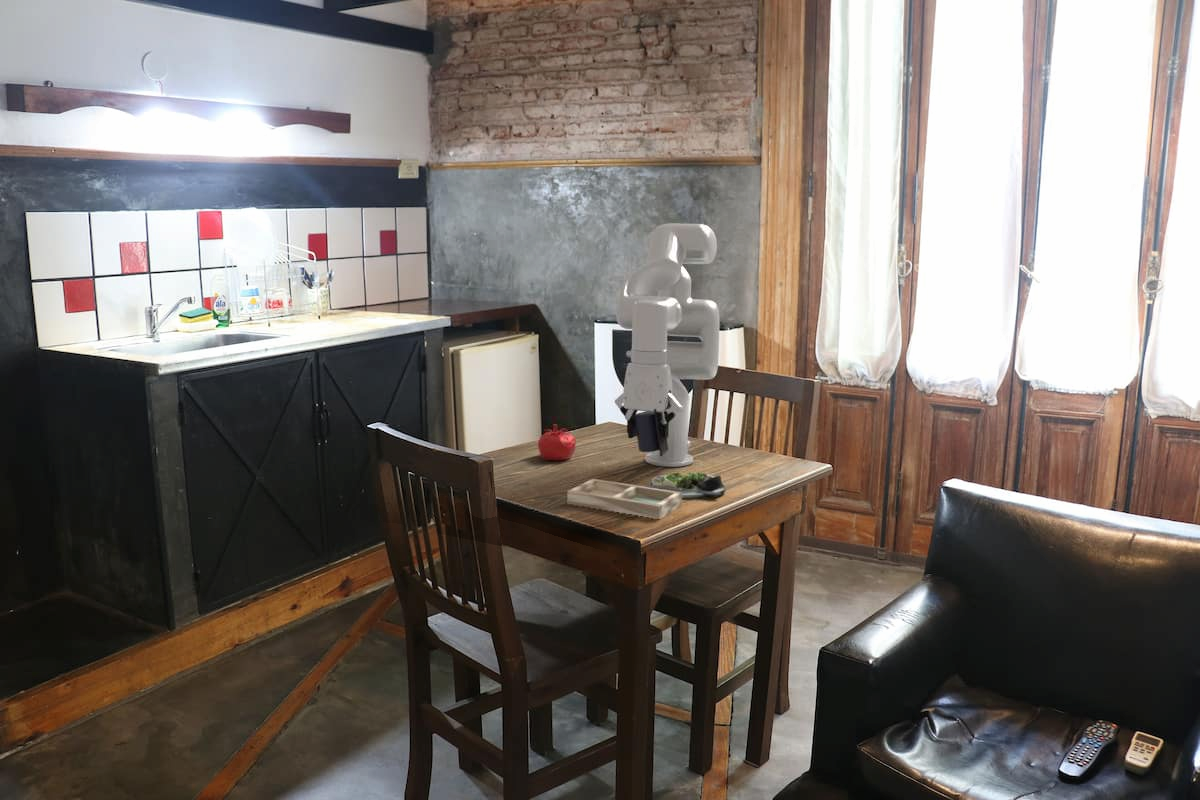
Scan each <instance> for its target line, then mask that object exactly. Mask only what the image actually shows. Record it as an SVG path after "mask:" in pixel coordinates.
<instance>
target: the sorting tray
mask: <svg viewBox="0 0 1200 800" xmlns="http://www.w3.org/2000/svg"><path fill="white" fill-rule="evenodd" d="M566 493H567V494H566V495H567V496H566V497H567V500H566V501H567V502H566V504H567V505H570V504H573V505H572V506H576V505H579V506H578V507H582V506H585V507H584V508H587V507H590V509H593V508H595V509H594V510H599V509H602V510H601V511H605V510H608V511H607V512H611V511H614V512H613V513H616V512H619V513H618V514H622V513H626V514H625V515H628V514H633V515H632V516H634V515H638V516H637V517H640V516H644V517H643V518H646V517H649V518H648V519H651V518H653V520H657V519H660V520H661V519H663V518H664V517H666V516H668V515H669V514H670V512H671V513H672V512H674V511H675V510H676V508H677V509H678V508H680V507H681V506H683V505H682V503H683V502H682V501H683V498H682V492H675V491H669V490H662V489H656V488H650V487H643V485H642V486H641V485H637V484H636V485H635V484H630V483H624V482H623V483H622V482H618V481H617V482H616V481H611V480H604V479H598V478H591V479H589V480H587V481H585V482H583V483H581V484H579V485H577V486H575V487H573V488H571V489H569V490H567V492H566ZM679 506H680V507H679ZM667 514H668V515H667Z"/></svg>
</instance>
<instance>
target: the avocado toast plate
mask: <svg viewBox="0 0 1200 800" xmlns="http://www.w3.org/2000/svg"><path fill="white" fill-rule="evenodd" d="M651 482H652V483H645V484H643V485H642V486H643V487H650V488H656V489H662V490H669V491H675V492H682V499H711V497H713V498H717V496H718V497H720V495H721V496H723V495H724V493H725V492H726V491H727V490H726V489H727V488H726V486H725V485H724V484H723V482H722V477H721V475H717V476H714V475H712V474H711V475H710V474H707V473H705V472H704V473H703V472H696V471H695V472H694V471H693V472H692V473H691V472H687V473H685V474H682V473H679V472H677V473H676V472H670V473H668V474H661V475H657V476H655V477H653V478H652V479H651ZM722 494H723V495H722Z"/></svg>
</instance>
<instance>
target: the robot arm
mask: <svg viewBox="0 0 1200 800" xmlns="http://www.w3.org/2000/svg"><path fill="white" fill-rule="evenodd" d="M717 243H718V242H717V237H716V234H715V232H714V231H713V230H712V228H711V227H709V226H708V225H706V224H702V223H676V222H675V223H672V222H670V223H663V224H660V225H657V227H656V228H654V230H653V231H650V233H648V235H647V238H646V249H647V256H646V262H645V264H644V265H642V266H640V267H638V269H636V270H635V271H633V272H632V273H631V274H630V275H628V276H627V277H626V278H625V279H624V280H623V283H622V285H621V287H620V290H619V294H618V299H617V303H616V308H615V309H616V310H615V317H616V318H615V319H616V322H617V324H618V325H619V326H620V327H621V328H623V329H625V330H631V349H630V350H627V351H626V352H625V353H626V357H627V358H630V361H631V362H628V363H627V366H626V371H625V377H624V382H623V383H624V384H623V392H622V393H621V395H619V396H617V398H615V400H614V404H615V405H616V406H617V408H618V409H619V410H620V413H621V414H622V415H623V416H624V418H625V420H626V432H627V438H628V439H632V438H635V437H637V432H636V425H635V417H634V415H635V414H638V412H640V411H641V412H646V411H647V412H654V409H656V412H658V416H659V419H660V421H661V424H659V430H660V438H661V442H663V441H665V440H667V445H668V451H667V452H666V453H665V454H664V455H663V456H660V450H657V451H653V452H648V453H647V454H646V455H645V456H644V460H645V462H646V463H648V464H649V465H652V466H656V467H664V468H665V467H667V468H675V467H676V468H677V467H686V466H689V465H691V464H693V463H694V457H693V456H692V454H689V452H688V449H689V448H690V447H691V446H692V444H691V442H690V440H689V420H690V419H689V416H690V415H689V414H690V413H689V412H690V411H689V410H690V397H689V396H690V395H689V391H688V390H687V389H686V386H684V384H683V383H682V381H680V380H698V381H700V380H702V381H704V380H712V379H714V378H715V376H716V375H717V373H718V369H719V353H720V352H719V350H720V348H719V347H720V326H721V325H720V310H719V307H718V304H716V302H714V301H713V300H710V299H699V298H696V299H695V298H692V278H691V276H690V274H689V272H688V271H687V270H686V268H685V267H684V266H683V264H684V265H685V264H687V265H689V264H690V265H708V264H711V263H713V261H714V259H715V257H716V255H717V250H718V244H717ZM656 292H657V295H655V296H654V295H648V294H652V293H656ZM668 336H670V337H671V336H672V337H673V336H674V337H693V338H694V337H695V338H698V339H700V340H701V341H700V342H697V341H680V340H679V341H678V340H677V341H676V340H669V341H668Z"/></svg>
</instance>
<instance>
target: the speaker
mask: <svg viewBox="0 0 1200 800" xmlns="http://www.w3.org/2000/svg"><path fill="white" fill-rule="evenodd" d="M634 417H635V425H636V432H637V436H636V437H637V445H638V446H637V447H638V451H639V452H641V453H651V452H653V451H657V450H660V456H663V455H664V454H665V453H666V452H667V451H668V445H667V440H665V441H663V442H661V438H660V430H659V424H661V421H660V419H659V416H658V412H656V409H654V412H647V411H641V412H637V414H635V415H634Z"/></svg>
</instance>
